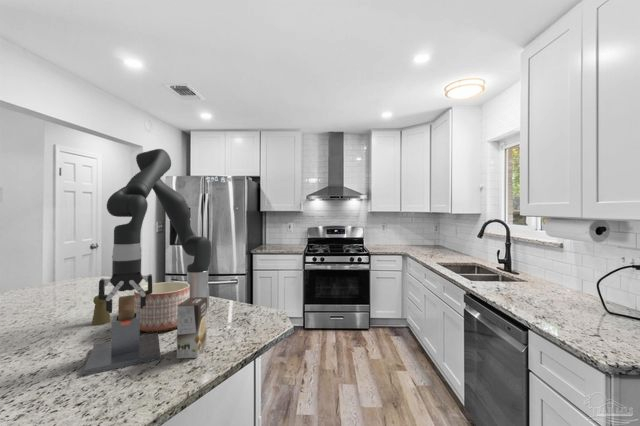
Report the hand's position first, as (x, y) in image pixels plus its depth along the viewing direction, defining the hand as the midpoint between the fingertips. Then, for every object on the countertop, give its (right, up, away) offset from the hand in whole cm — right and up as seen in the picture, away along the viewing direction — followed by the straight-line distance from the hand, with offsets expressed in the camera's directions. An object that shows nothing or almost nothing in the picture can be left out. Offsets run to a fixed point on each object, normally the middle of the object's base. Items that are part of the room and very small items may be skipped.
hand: (126, 310), depth 89 cm
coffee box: (+20, -14, +2) cm, 24 cm away
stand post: (0, -12, 0) cm, 12 cm away
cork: (-27, -14, +25) cm, 40 cm away
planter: (-2, -14, +24) cm, 27 cm away
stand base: (0, -14, 0) cm, 14 cm away
